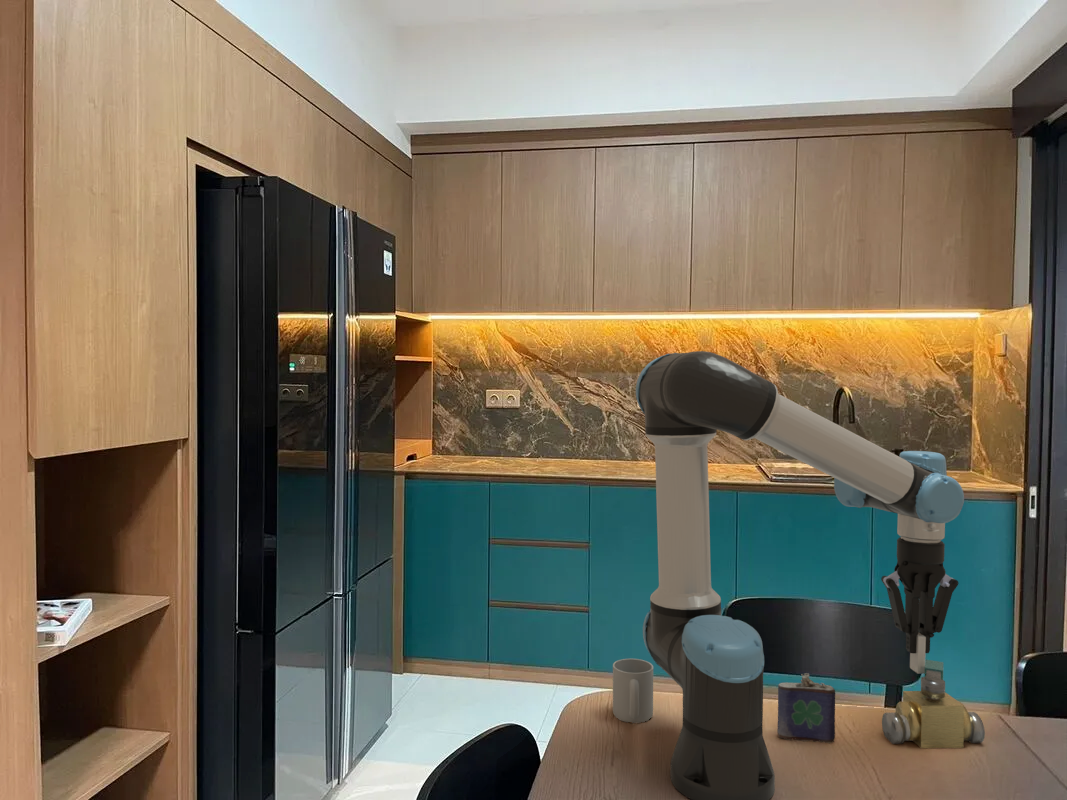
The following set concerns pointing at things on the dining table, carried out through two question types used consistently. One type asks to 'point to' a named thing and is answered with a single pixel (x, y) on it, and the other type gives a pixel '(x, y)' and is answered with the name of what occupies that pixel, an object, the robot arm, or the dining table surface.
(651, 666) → the cup
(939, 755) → the dining table surface
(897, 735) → the pipe valve
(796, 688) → the flask
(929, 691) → the lever
